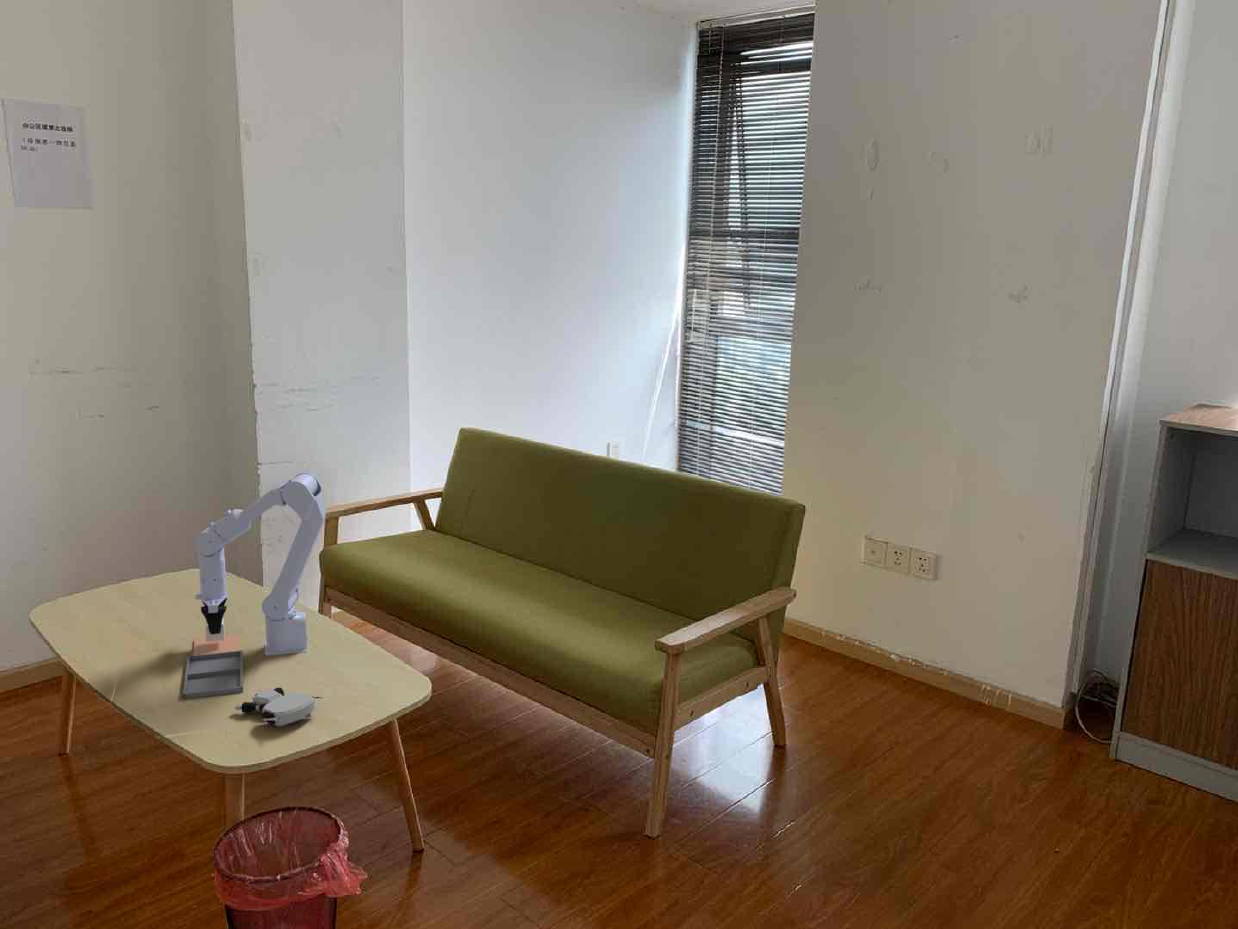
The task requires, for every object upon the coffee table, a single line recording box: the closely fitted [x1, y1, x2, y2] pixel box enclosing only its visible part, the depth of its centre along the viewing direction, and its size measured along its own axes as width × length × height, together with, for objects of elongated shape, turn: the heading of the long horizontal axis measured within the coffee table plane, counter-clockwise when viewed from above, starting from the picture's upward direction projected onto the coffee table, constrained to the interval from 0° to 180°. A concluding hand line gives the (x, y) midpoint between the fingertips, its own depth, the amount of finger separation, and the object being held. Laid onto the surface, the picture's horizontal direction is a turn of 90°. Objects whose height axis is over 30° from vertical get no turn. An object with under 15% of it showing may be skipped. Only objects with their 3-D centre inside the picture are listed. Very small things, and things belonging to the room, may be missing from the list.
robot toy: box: [234, 687, 324, 727], centre depth 200 cm, size 12×4×15 cm
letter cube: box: [205, 617, 226, 642], centre depth 229 cm, size 4×4×4 cm
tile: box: [192, 633, 240, 655], centre depth 230 cm, size 10×10×1 cm
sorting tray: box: [182, 650, 244, 700], centre depth 215 cm, size 12×20×2 cm, turn 21°
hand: (215, 629), depth 230 cm, fingers closed on letter cube, 4 cm apart
